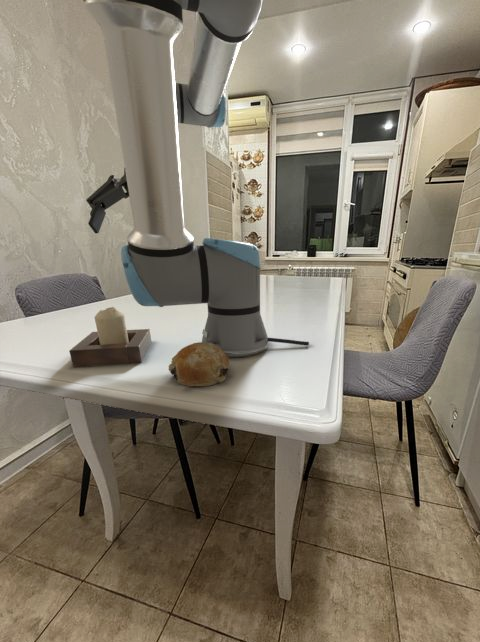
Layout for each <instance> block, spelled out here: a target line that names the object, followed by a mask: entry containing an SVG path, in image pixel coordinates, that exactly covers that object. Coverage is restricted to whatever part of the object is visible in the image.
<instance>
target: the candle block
mask: <svg viewBox="0 0 480 642" xmlns="http://www.w3.org/2000/svg"><path fill="white" fill-rule="evenodd" d="M127 335H128V341H129V343H124V344H107V345H100V341H99V336H98V332H97V331H91V332H90V333H89V334H88V335H86V336H85V337H84V338H83V339H82V340H80V341H79V342H78V343H77V344H75V345H74V346H73V347H72V348H71V349H69V351H68V352H69V355H70V360H71V363H72V368H84V367H96V366H97V367H99V366H113V365H114V366H115V365H127V364H140V363H142V362H143V360H144V358H145V357H146V354H147V352H148V351H149V349H150V347H151V345H152V343H153V341H152V336H151V329H150V328H143V329H141V328H140V329H127Z"/></svg>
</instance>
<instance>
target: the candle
mask: <svg viewBox="0 0 480 642" xmlns="http://www.w3.org/2000/svg"><path fill="white" fill-rule="evenodd" d="M94 322H95V328H96V332H98V336H99V341H100V345H107V344H124V343H129V341H128V335H127V330H128V329H127V323H126V318H125V313H123V312H122V311H120V310H118V309H117V308H116V307H114V306H111V307H110V306H109V307H107V308H105V309H100V310H99V311H98V312H97V313H96V314H95V316H94Z"/></svg>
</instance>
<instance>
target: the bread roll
mask: <svg viewBox="0 0 480 642" xmlns="http://www.w3.org/2000/svg"><path fill="white" fill-rule="evenodd" d="M170 362H171V363H170V364H168V371H169V372H170V374H171V375H173V376H172V379H174V380H175V381H176V382H178V383H179V384H180V385H183V386H186V387H188V388H193V387H209V386H213V385H216V384H218V383H223V382H224V381H225V380H226V379H227V376H228V373H229V371H230V360H229V357H227V355H226V354H225V352H224V351H223V350H222V349H221V348H219V347H217V346H215V345H214V344H213V343H204V342H202V341H201V342H200V341H199V342H193V343H191V344H188V345H186V346H184V347H182V348H181V349H180V350H179V351H177V353H176V354H175V355H174V356H173V357H172V358H171V361H170Z"/></svg>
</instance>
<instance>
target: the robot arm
mask: <svg viewBox="0 0 480 642" xmlns="http://www.w3.org/2000/svg"><path fill="white" fill-rule="evenodd" d="M83 4H84V9H85V10H86V11H87V13H88V14H89V15H90V16H91V18H92V19H93V20H94V21H95V23H96V24H97V25H98V27H99V28H100V30H101V34H102V37H103V43H104V49H105V55H106V63H107V67H108V75H109V80H110V86H111V92H112V98H113V104H114V110H115V111H114V112H115V116H116V123H117V128H118V135H119V141H120V147H121V154H122V159H123V166H124V167H123V176H121V177H120V178H116V177H115V175H114V174H110V175H109V176H108V178H107V180H106V181H105V182H104V183H103V184H101V186H99V187H98V188H97V189H96V190H95V191H93V193H92V194H90V196H88V197H87V198H86V200H85V201H86V202H87V204H88V206H89V207H90V208H91V210H90V213H89V216H90V218H89V221H88V226H89V227H90V228H91V230H92V231H93V233H94V234H99V233H100V230H101V227H102V225H103V222H104V220H105V218H106V214H107V211H106V210H108V209H110V208H111V207H112V206H114V205H116V203H119V202H120V201H122V200H124V199H128V198H129V201H130V203H129V204H130V209H131V215H132V221H133V229H132V230H131V231H130V232H129V234H128V235H127V237H126V239H127V244H125V245H123V246H121V249H120V257H121V262H122V265H123V271H124V276H125V279H126V282H127V285H128V288H129V291H130V293H131V295H132V297H133V300H135V302H136V303H137V304H138V305H140V306H142V307H158V308H164V307H171V306H184V305H185V306H187V305H200V304H201V305H202V304H207V305H206V306H207V318H206V321H205V325H204V328H203V329H202V331H201V332H202V333H201V334H202V337H201V342H204V343H213V344H214V345H215V346H217V347H219V348H221V349H222V350H223V351H224V352H225V354H226V355H227V357H228V358H244V357H250V356H254V355H258V354H260V353H262V352H264V351H266V350H267V349H268V347H269V342H270V343H279V344H280V343H281V344H291V345H298V346H309V345H310V341H302V340H295V339H287V338H279V337H278V338H277V337H268V333H267V330H266V327H265V324H264V321H263V318H262V315H261V269H262V266H261V259H260V257H261V256H260V250H259V248H258V247H257V246H256V245H255V244H252V243H247V242H242V241H241V242H240V241H235V240H227V239H220V238H211V237H204V238H203V240H202V245H195V244H194V243H195V241H194V236H193V235H192V234H191V233H190V232H189V231H188V230H187V229H186V227H185V218H184V202H183V186H182V172H181V155H180V139H179V127H178V126H179V125H178V124H182V125H190V126H199V127H205V128H209V129H211V128H222V127H224V125H225V121H226V116H227V99H226V94H225V93H224V92H225V89H226V86H227V84H228V81H229V79H230V75H231V73H232V70H233V67H234V64H235V61H236V58H237V56H238V53H239V50H240V49H241V48H240V47H241V44H242V43H243V42H245V41H246V40H247V39H248V38H249V37H250V36H251V34H252V33H253V31H254V30H255V27H256V24H257V22H258V18H259V16H260V13H261V10H262V6H263V0H83ZM184 10H185V11H189V12H193V13H197V17H196V23H195V32H194V39H193V45H192V52H191V59H190V60H191V61H190V67H189V73H188V74H189V75H188V82H187V84H186V83H180V82H176V80H175V79H176V77H175V65H174V53H173V52H174V50H173V48H174V47H173V46H174V41H175V40H176V39H177V38H178V36H179V35H180V34H181V32H182V31H183V29H184V19H183V11H184ZM125 191H126V192H125Z"/></svg>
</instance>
